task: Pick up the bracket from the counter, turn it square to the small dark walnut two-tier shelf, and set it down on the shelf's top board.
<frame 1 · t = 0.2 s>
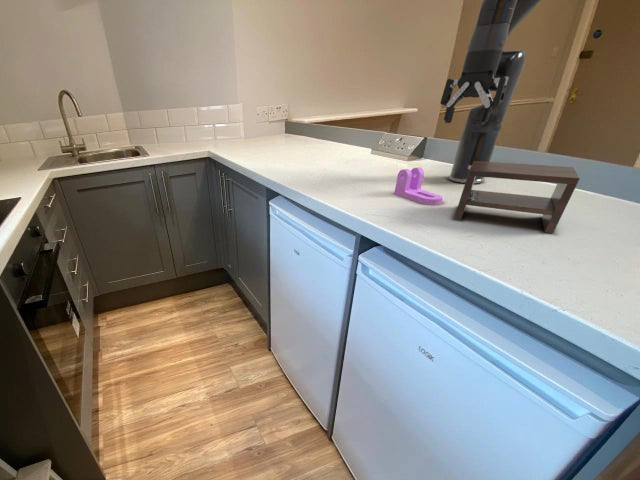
hand: (464, 123, 91), 17 cm above the worktop, tool pointing down, fingers open, 8 cm apart
bracket: (418, 198, 93), on the worktop
shelf: (501, 218, 78), on the worktop
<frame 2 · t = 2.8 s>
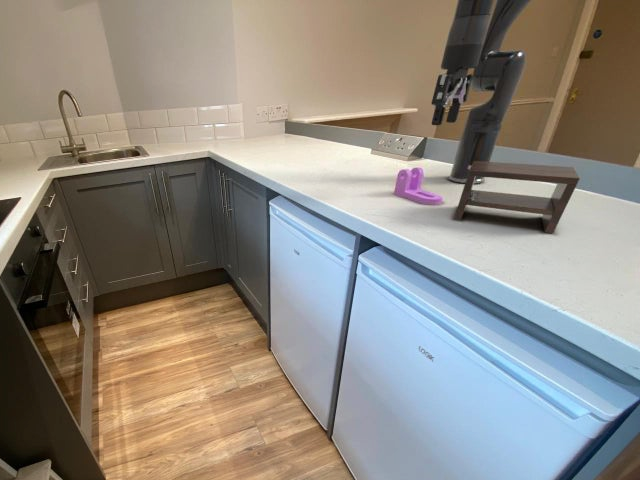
hand: (443, 123, 85), 18 cm above the worktop, tool pointing down, fingers open, 8 cm apart
nothing on the worktop moved.
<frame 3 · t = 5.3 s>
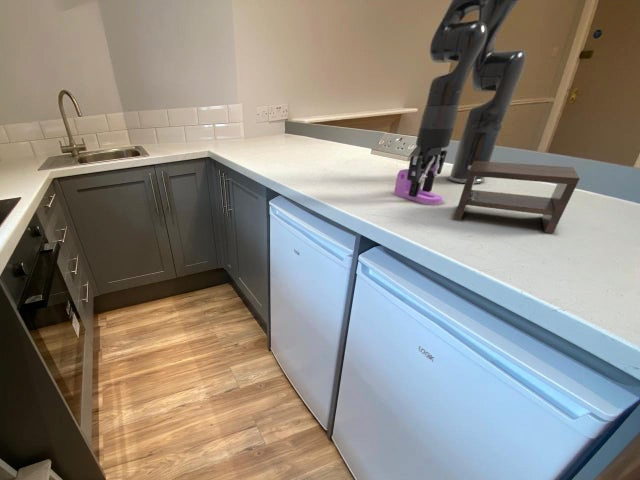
hand: (419, 193, 93), 1 cm above the worktop, tool pointing down, fingers closed on bracket, 6 cm apart
bracket: (418, 198, 93), on the worktop, touching gripper
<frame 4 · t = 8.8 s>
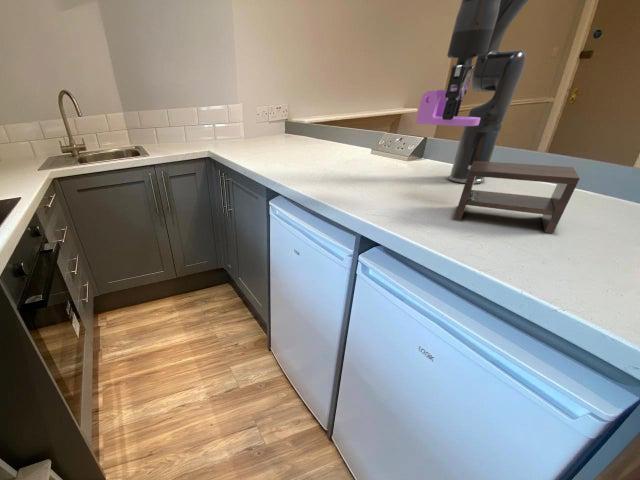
hand: (449, 118, 81), 20 cm above the worktop, tool pointing down, fingers closed on bracket, 6 cm apart
bracket: (447, 124, 81), point 18 cm above the worktop, touching gripper
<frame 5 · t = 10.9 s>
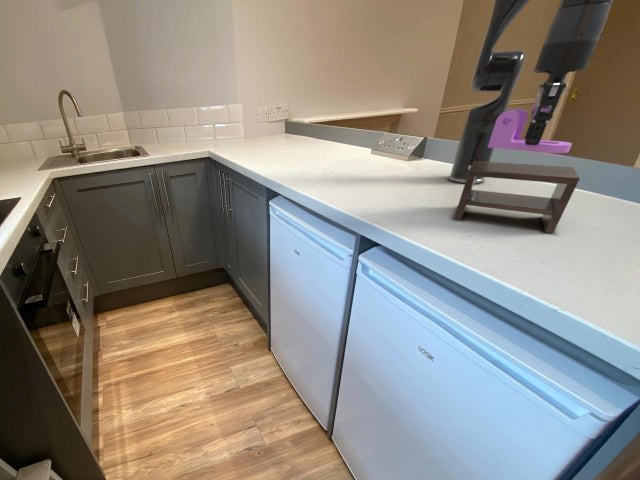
hand: (530, 142, 69), 16 cm above the worktop, tool pointing down, fingers closed on bracket, 6 cm apart
bracket: (527, 149, 70), point 15 cm above the worktop, touching gripper
when the fingers open (12 cm above the worktop, at t = 12.5 s): bracket stays where it is, resting on shelf.
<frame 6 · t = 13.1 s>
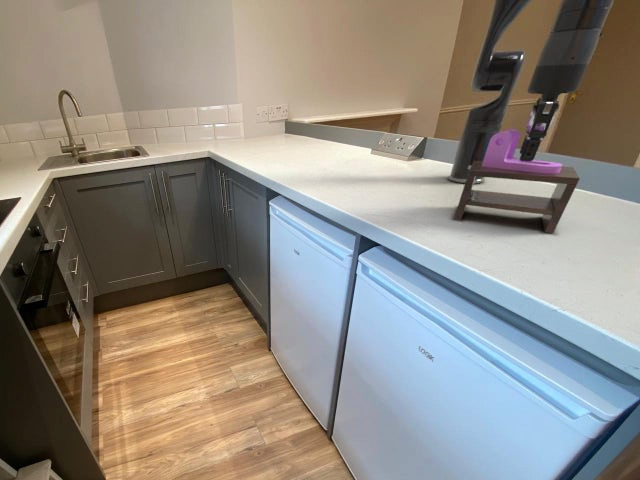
hand: (525, 157, 71), 13 cm above the worktop, tool pointing down, fingers open, 8 cm apart
bracket: (520, 169, 72), point 11 cm above the worktop, touching shelf
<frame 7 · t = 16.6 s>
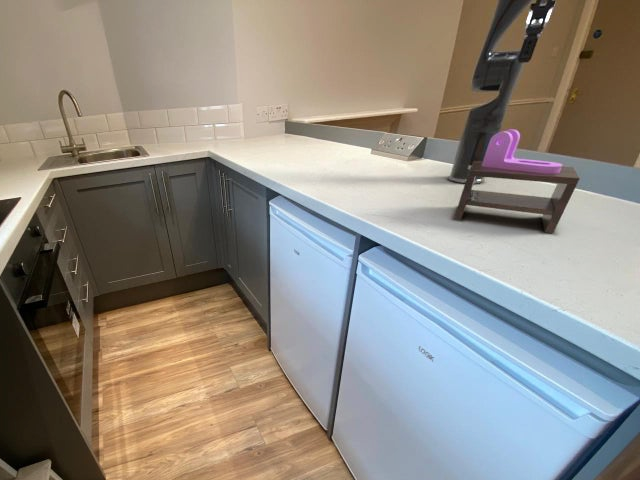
hand: (523, 62, 72), 30 cm above the worktop, tool pointing down, fingers open, 8 cm apart
nothing on the worktop moved.
at the end: bracket inside the target area on the shelf (0.1 cm from its centre), point 10.8 cm above the shelf's base; bracket tilted 0°; the gripper is holding nothing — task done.
